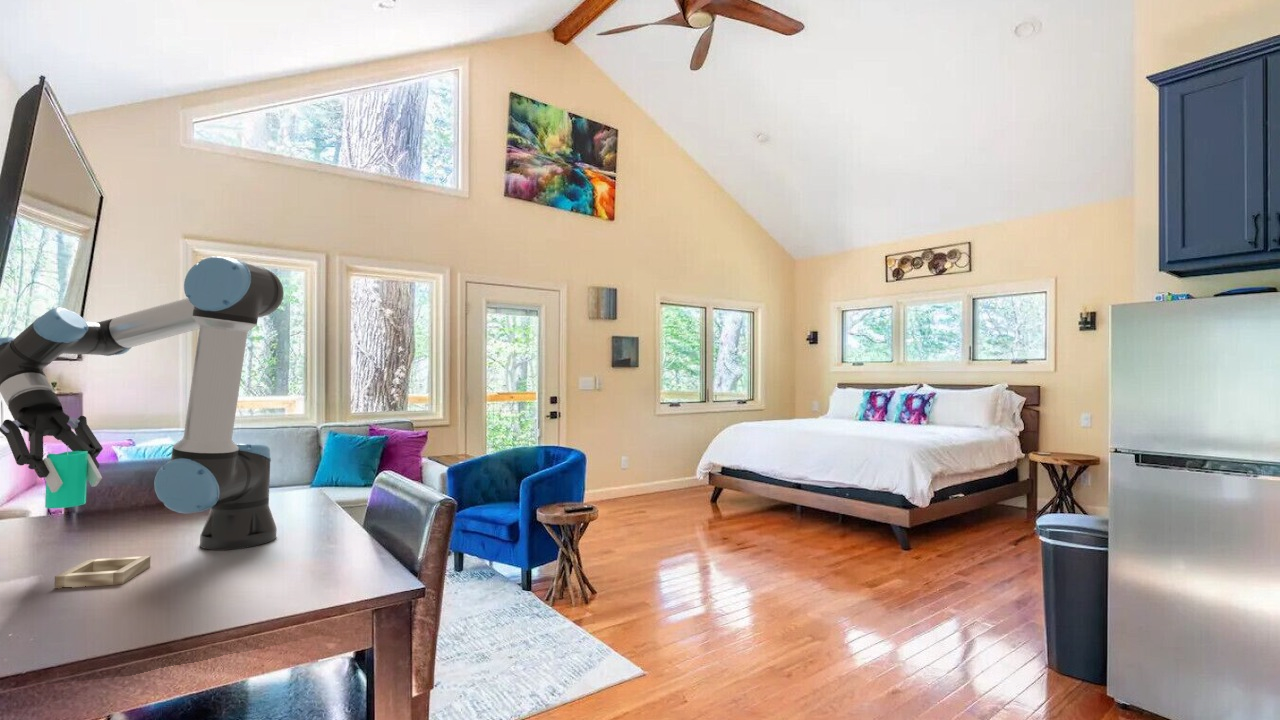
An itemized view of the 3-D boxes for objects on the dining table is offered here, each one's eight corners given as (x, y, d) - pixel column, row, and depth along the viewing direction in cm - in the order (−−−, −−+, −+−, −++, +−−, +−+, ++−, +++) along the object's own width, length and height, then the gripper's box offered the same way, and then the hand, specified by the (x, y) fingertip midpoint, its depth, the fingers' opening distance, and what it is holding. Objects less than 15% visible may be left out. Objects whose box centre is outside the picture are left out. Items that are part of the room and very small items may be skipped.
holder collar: (150, 566, 125) (150, 555, 125) (122, 584, 115) (122, 572, 115) (88, 570, 122) (88, 559, 122) (54, 588, 112) (54, 576, 112)
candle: (85, 500, 127) (86, 443, 127) (87, 505, 123) (88, 445, 123) (44, 504, 123) (46, 445, 123) (45, 509, 119) (47, 448, 119)
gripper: (77, 409, 137) (122, 488, 131) (-39, 414, 120) (7, 506, 114) (93, 386, 136) (139, 465, 130) (-22, 388, 118) (25, 480, 112)
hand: (77, 484), depth 122 cm, fingers closed on candle, 6 cm apart
